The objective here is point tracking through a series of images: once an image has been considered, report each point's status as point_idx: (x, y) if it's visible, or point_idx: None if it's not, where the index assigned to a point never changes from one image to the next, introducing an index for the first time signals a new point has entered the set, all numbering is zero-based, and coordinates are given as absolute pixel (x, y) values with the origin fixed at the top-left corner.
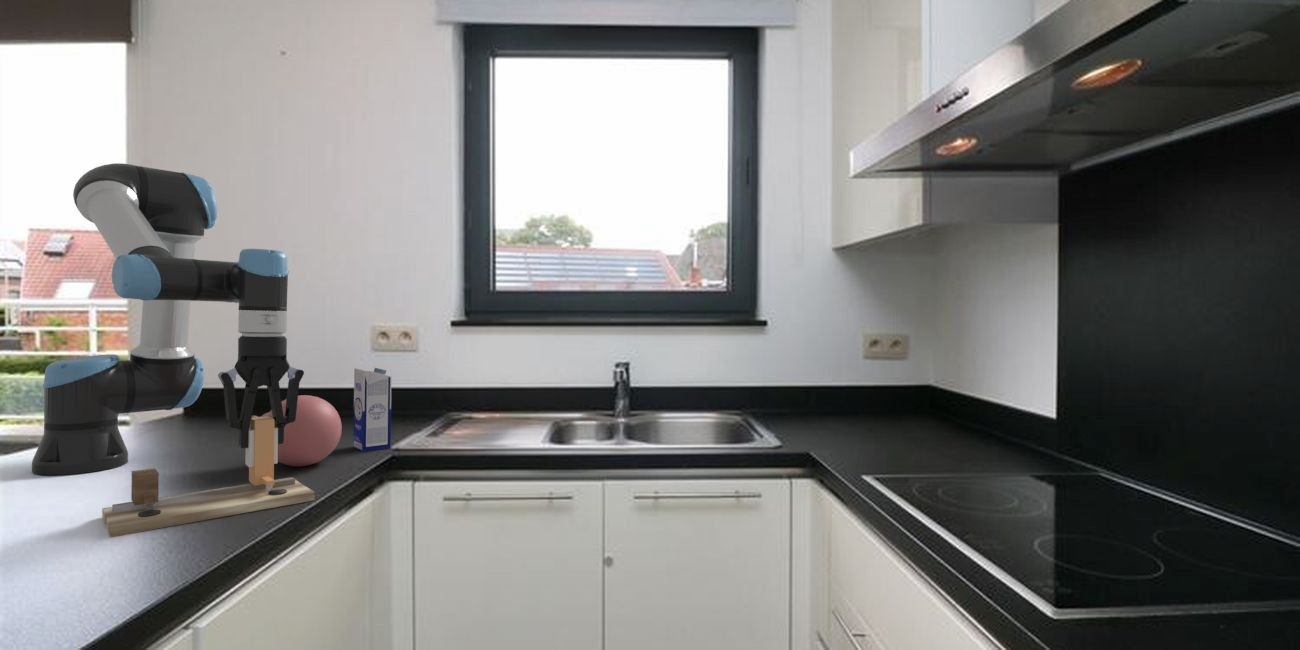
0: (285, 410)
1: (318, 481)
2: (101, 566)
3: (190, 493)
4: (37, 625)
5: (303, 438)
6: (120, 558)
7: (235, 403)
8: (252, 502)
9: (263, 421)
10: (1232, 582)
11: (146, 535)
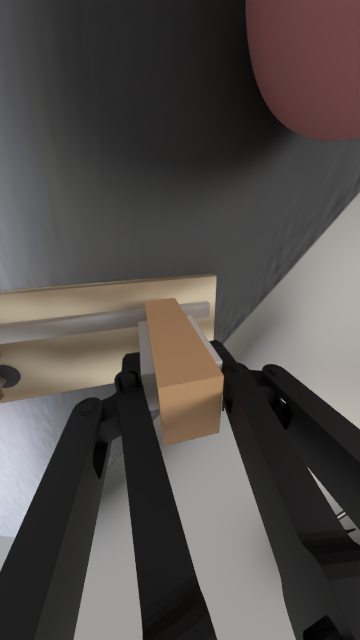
0: (286, 394)
1: (250, 260)
2: (6, 466)
3: (48, 327)
4: (4, 527)
5: (330, 127)
6: (17, 455)
7: (86, 558)
8: None
9: (187, 435)
10: (350, 529)
11: (23, 406)
